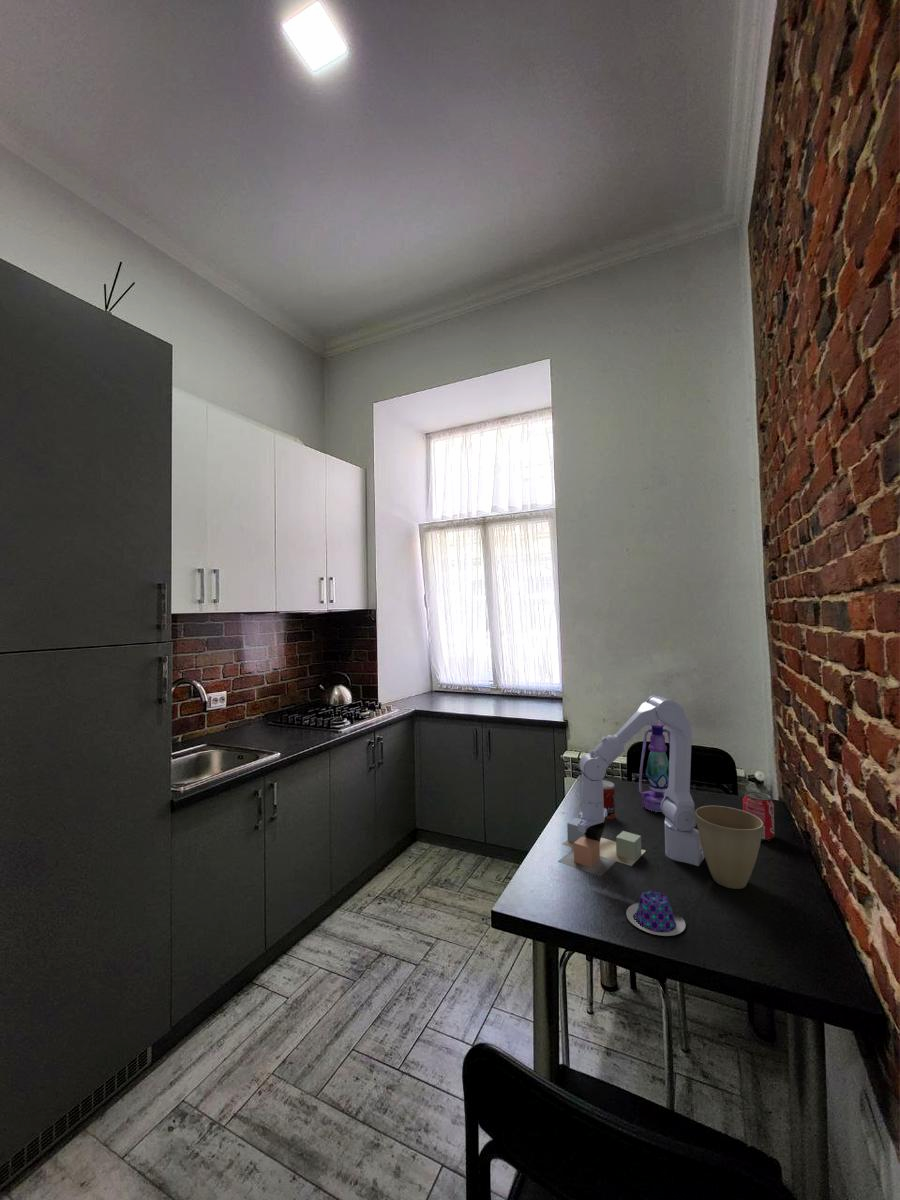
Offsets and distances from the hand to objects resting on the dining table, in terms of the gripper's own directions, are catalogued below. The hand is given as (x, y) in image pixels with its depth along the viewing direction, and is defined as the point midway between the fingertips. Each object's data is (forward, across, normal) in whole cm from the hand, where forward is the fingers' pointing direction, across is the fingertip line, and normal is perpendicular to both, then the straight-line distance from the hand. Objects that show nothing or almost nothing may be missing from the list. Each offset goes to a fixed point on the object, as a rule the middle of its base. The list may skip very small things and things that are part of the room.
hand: (593, 850), depth 136 cm
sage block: (+1, -6, +7) cm, 10 cm away
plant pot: (+3, -11, +31) cm, 33 cm away
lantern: (+3, -48, +2) cm, 48 cm away
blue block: (+1, -6, -7) cm, 10 cm away
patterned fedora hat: (+3, +17, +22) cm, 28 cm away
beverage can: (+3, -45, +32) cm, 55 cm away
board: (+2, -2, 0) cm, 3 cm away
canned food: (+3, -29, -10) cm, 31 cm away
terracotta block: (+1, +4, 0) cm, 4 cm away
